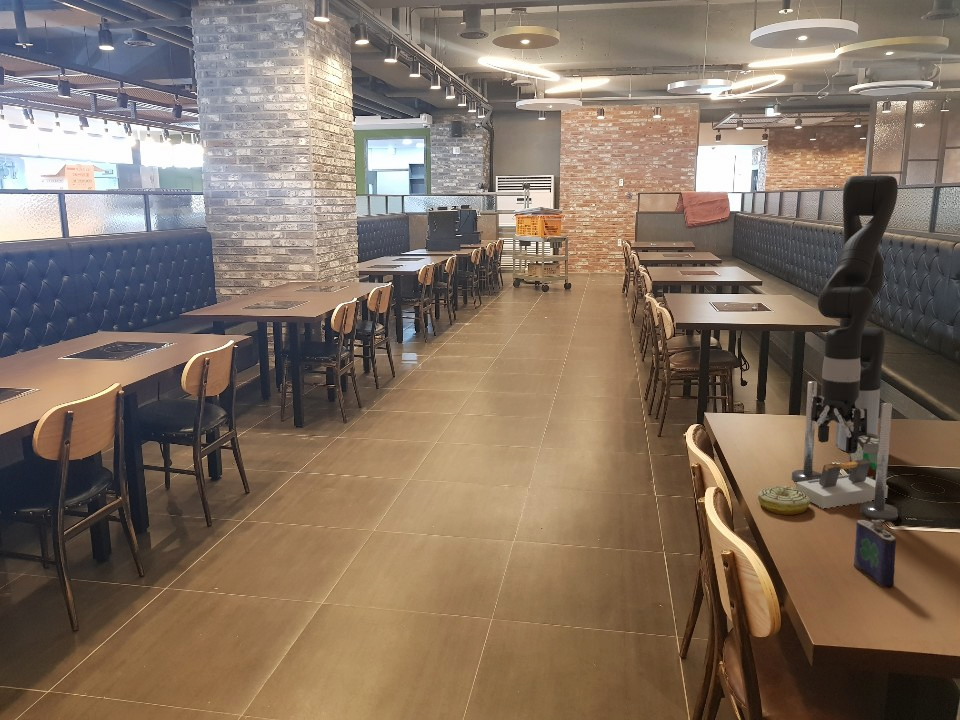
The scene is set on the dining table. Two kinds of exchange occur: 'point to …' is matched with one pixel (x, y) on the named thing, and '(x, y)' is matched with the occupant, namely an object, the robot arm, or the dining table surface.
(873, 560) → the flask
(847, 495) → the switch panel
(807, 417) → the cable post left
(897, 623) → the dining table surface
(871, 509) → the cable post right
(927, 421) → the dining table surface
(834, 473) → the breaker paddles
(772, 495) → the decorated donut
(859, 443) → the food container
